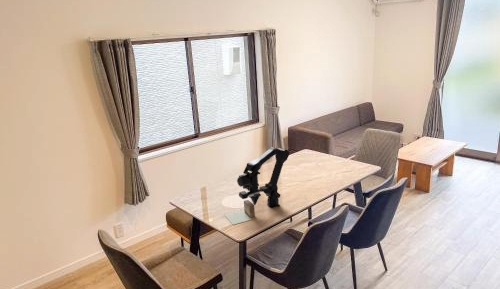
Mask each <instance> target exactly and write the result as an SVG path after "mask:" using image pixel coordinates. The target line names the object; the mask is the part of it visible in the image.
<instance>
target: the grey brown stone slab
mask: <svg viewBox="0 0 500 289" xmlns="http://www.w3.org/2000/svg"><path fill="white" fill-rule="evenodd" d="M243 208H244V211H243V212H244V213H245V214H246V215H247V216H248V217H249V218H250V219H251V218H255V217H256V212H255V210H256V209H255V205H254V204H253V202H252V201H250V199H244V200H243Z"/></svg>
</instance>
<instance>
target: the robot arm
mask: <svg viewBox="0 0 500 289" xmlns="http://www.w3.org/2000/svg"><path fill="white" fill-rule="evenodd" d="M274 156H275V164H274V167H273V169H272V174H271V176H270V179H269V182H268V183H265V185H262V186H260V184H259V179H258V178H259V176H258V175H260V174H261V172H260V170H261V168H262V165H264V164H265V163H266V162H268V161H269V160H270V159H271V158H272V157H274ZM289 156H290V151H289V150H288V149H286V148H282V147H278V148H277V147H273V146H270V147H269V148H268V150H266V151H264V152H263V154H261V155H260V156H259V157H258V158H254V159H252V160H250V161H248V162H247V163H246V166H245V167H244V170H243V174H239V175H238V178H237V179H236V182H237V185H238V187H242V188H243V191H240V192H238V197H239V198H241V199H242V200H247V199H248V198H250V199H251V203H252V204H254V206H256V205H257V202H258V200H259V199H260V197H261V196H262V194H261V192H263V194H265V196H266V197H267V199H266V200H267V203H266V205H267V206H268V207H270V209H273V208H277V207H280V206H281V205H280V203H279V199H280V198H281V194H280V192H278V190H279V189H278V181H279V178H280V175H281V172H282V168H283V166H284V163H285V162H286V161H287V160H288V158H289ZM259 186H260V187H259ZM245 190H247V191H245Z"/></svg>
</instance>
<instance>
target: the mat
mask: <svg viewBox="0 0 500 289" xmlns="http://www.w3.org/2000/svg"><path fill="white" fill-rule="evenodd" d="M224 217H225V218H226V220H228V221H229V223H230V224H232V226H235V225H237V224H242V223H245V222H249V221H251V220H252V219H251V218H250V217H249V216H248V215H247V214H246V213H245V211H243V210H238V211H235V212H231V213H228V214H224Z"/></svg>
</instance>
